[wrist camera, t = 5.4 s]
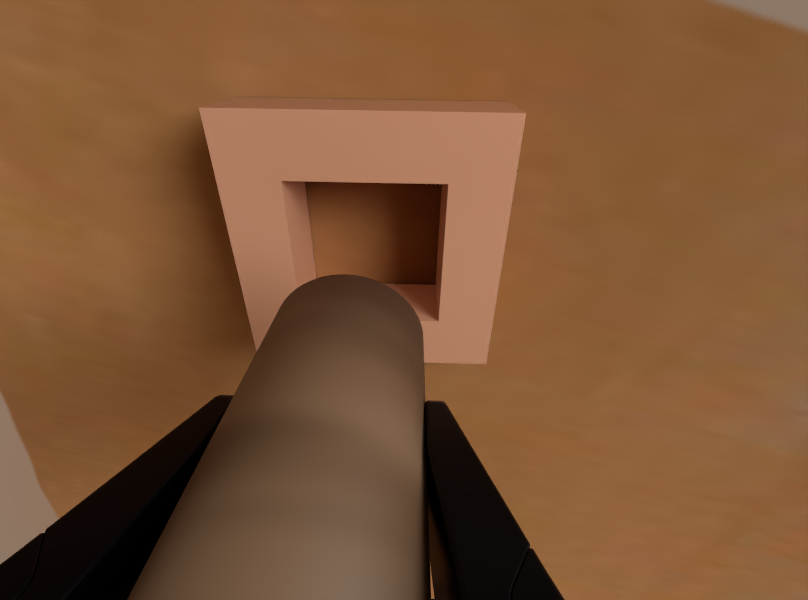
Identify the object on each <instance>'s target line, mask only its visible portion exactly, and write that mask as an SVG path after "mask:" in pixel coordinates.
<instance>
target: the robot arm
mask: <svg viewBox="0 0 808 600" xmlns="http://www.w3.org/2000/svg"><path fill="white" fill-rule="evenodd" d="M233 396H234V395H219V396H217V397H215V398H214V399H212V400H211V401H210V402H208V403H207V404H206V405H205V406H203V407H202V408H201V409H199V410H198V411H197V412H196V413H194V414H193V415H192V416H190V417H189V418H188V419H187V420H185V421H184V422H183V423H182V424H180V425H179V426H178V427H176V428H175V429H174V430H173V431H171V432H170V433H169V434H167V435H166V436H165V437H164V438H162V439H161V440H160V441H158V442H157V443H156V444H155V445H153V446H152V447H151V448H150V449H148V450H147V451H146V452H144V453H143V454H142V455H141V456H139V457H138V458H137V459H135V460H134V461H133V462H132V463H130V464H129V465H128V466H126V467H125V468H124V469H123V470H121V471H120V472H119V473H118V474H116V475H115V476H114V477H112V478H111V479H110V480H109V481H107V482H106V483H105V484H103V485H102V486H101V487H100V488H98V489H97V490H96V491H94V492H93V493H92V494H91V495H89V496H88V497H87V498H86V499H84V500H83V501H82V502H80V503H79V504H78V505H77V506H75V507H74V508H73V509H71V510H70V511H69V512H68V513H66V514H65V515H64V516H62V517H61V518H60V519H59V520H57V521H56V522H55V523H54V524H52V525H51V526H50V527H48V528H47V529H46V531H45V533H41V534H39V535H38V536H37V537H35V538H34V539H33V540H32V541H30V542H29V543H28V544H26V545H25V546H24V547H23V548H21V549H20V550H19V551H18V552H16V553H15V554H14V555H12V556H11V557H10V558H8V559H7V560H6V561H4V562H3V563H2V564H0V600H127V599H128V597H129V595H130V593H131V591H132V589H133V587H134V585H135V583H136V582H137V580H138V578H139V576H140V574H141V572H142V570H143V568H144V566H145V564H146V562H147V561H148V559H149V557H150V555H151V553H152V551H153V549H154V547H155V545H156V543H157V541H158V540H159V538H160V536H161V534H162V532H163V530H164V528H165V526H166V524H167V522H168V520H169V518H170V517H171V515H172V513H173V511H174V509H175V507H176V505H177V503H178V501H179V499H180V497H181V496H182V494H183V492H184V490H185V488H186V486H187V484H188V482H189V480H190V478H191V476H192V475H193V473H194V471H195V469H196V467H197V465H198V463H199V461H200V459H201V457H202V455H203V454H204V452H205V450H206V448H207V446H208V444H209V442H210V440H211V438H212V436H213V434H214V433H215V431H216V429H217V427H218V425H219V423H220V421H221V419H222V417H223V415H224V413H225V412H226V410H227V408H228V406H229V404H230V402H231V400H232V398H233ZM425 430H426V460H427V482H428V517H429V552H430V564H431V572H432V581H433V589H434V597H435V599H431V600H564V598H563V597H562V595H561V593H560V592H559V590H558V589H557V587H556V586H555V584H554V582H553V581H552V579H551V578H550V576H549V575H548V573H547V571H546V570H545V568H544V566H543V565H542V563H541V561H540V560H539V558H538V556H537V555H536V553H535V551H534V550H533V549H532V548H530V543H529V542H528V540H527V538H526V537H525V535H524V533H523V532H522V530H521V528H520V527H519V525H518V523H517V522H516V520H515V518H514V517H513V515H512V513H511V512H510V510H509V508H508V507H507V505H506V503H505V502H504V500H503V498H502V497H501V495H500V493H499V492H498V490H497V488H496V487H495V485H494V483H493V482H492V480H491V478H490V477H489V475H488V473H487V472H486V470H485V468H484V467H483V465H482V463H481V462H480V460H479V458H478V456H477V455H476V453H475V451H474V450H473V448H472V446H471V445H470V443H469V441H468V440H467V438H466V436H465V435H464V433H463V431H462V430H461V428H460V426H459V425H458V423H457V421H456V420H455V418H454V416H453V415H452V413H451V411H450V410H449V408H448V406H447V405H446V403H445V402H443V401H426V403H425ZM529 548H530V549H529Z"/></svg>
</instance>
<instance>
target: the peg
mask: <svg viewBox="0 0 808 600" xmlns="http://www.w3.org/2000/svg"><path fill="white" fill-rule="evenodd" d="M127 600H431V587H430V552H429V517H428V482H427V460H426V430H425V376H424V341H423V330H422V325H421V323H420V320H419V318H418V316H417V314H416V312H415V310H414V309H413V308H412V306H411V305H410V304H409V303H408V302H407V301H406V300H405V298H404V297H403V296H401V295H400V294H399V293H397V292H396V291H395V290H393V289H392V288H390V287H388V286H387V285H385V284H382V283H380V282H378V281H376V280H372V279H369V278H366V277H361V276H356V275H345V274H344V275H330V276H324V277H320V278H317V279H313V280H311V281H309V282H307V283H304V284H303V285H301V286H300V287H298V288H296V289H295V290H294V291H293V292H292V293H290V294H289V296H288V297H287V298H286V299H285V300H284V302H283V303H282V305H281V307H280V308H279V310H278V312H277V314H276V316H275V318H274V320H273V322H272V324H271V326H270V327H269V329H268V331H267V333H266V335H265V337H264V339H263V341H262V343H261V345H260V347H259V348H258V350H257V352H256V354H255V356H254V358H253V360H252V362H251V364H250V366H249V368H248V369H247V371H246V373H245V375H244V377H243V379H242V381H241V383H240V385H239V387H238V389H237V390H236V392H235V394H234V396H233V398H232V400H231V402H230V404H229V406H228V408H227V410H226V412H225V413H224V415H223V417H222V419H221V421H220V423H219V425H218V427H217V429H216V431H215V433H214V434H213V436H212V438H211V440H210V442H209V444H208V446H207V448H206V450H205V452H204V454H203V455H202V457H201V459H200V461H199V463H198V465H197V467H196V469H195V471H194V473H193V475H192V476H191V478H190V480H189V482H188V484H187V486H186V488H185V490H184V492H183V494H182V496H181V497H180V499H179V501H178V503H177V505H176V507H175V509H174V511H173V513H172V515H171V517H170V518H169V520H168V522H167V524H166V526H165V528H164V530H163V532H162V534H161V536H160V538H159V540H158V541H157V543H156V545H155V547H154V549H153V551H152V553H151V555H150V557H149V559H148V561H147V562H146V564H145V566H144V568H143V570H142V572H141V574H140V576H139V578H138V580H137V582H136V583H135V585H134V587H133V589H132V591H131V593H130V595H129V597H128V599H127Z"/></svg>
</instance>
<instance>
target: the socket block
mask: <svg viewBox="0 0 808 600" xmlns="http://www.w3.org/2000/svg"><path fill="white" fill-rule="evenodd" d="M199 111H200V115H201V119H202V123H203V128H204V132H205V136H206V140H207V144H208V149H209V153H210V157H211V161H212V166H213V170H214V174H215V178H216V183H217V187H218V191H219V195H220V199H221V204H222V208H223V212H224V216H225V221H226V225H227V229H228V233H229V238H230V242H231V246H232V250H233V255H234V259H235V263H236V267H237V271H238V276H239V280H240V284H241V288H242V293H243V297H244V301H245V305H246V310H247V314H248V318H249V322H250V326H251V331H252V335H253V339H254V343H255V348H256V352H257V350H258V348H259V347H260V345H261V343H262V341H263V339H264V337H265V335H266V333H267V331H268V329H269V327H270V326H271V324H272V322H273V320H274V318H275V316H276V314H277V312H278V310H279V308H280V307H281V305H282V303H283V302H284V300H285V299H286V298H287V297H288V296H289V294H290V293H292V292H293V291H294V290H295V289H296V288H298V287H300V286H301V285H303V284H304V283H307V282H309V281H311V280H313V279H316V270H315V262H314V254H313V245H312V237H311V228H310V220H309V211H308V203H307V195H306V186H305V181H306V182H358V183H410V184H442V188H441V204H440V220H439V236H438V252H437V268H436V284H435V285H426V284H385V285H387V286H388V287H390V288H392V289H393V290H395V291H396V292H397V293H399V294H400V295H401V296H403V297H404V298H405V300H406V301H407V302H408V303H409V304H410V305H411V306H412V308H413V309H414V310H415V312H416V314H417V316H418V318H419V320H420V323H421V325H422V330H423V341H424V362H426V363H466V364H486V362H487V356H488V349H489V343H490V337H491V331H492V324H493V318H494V312H495V305H496V299H497V293H498V287H499V280H500V274H501V268H502V262H503V255H504V249H505V243H506V237H507V230H508V224H509V218H510V212H511V205H512V199H513V193H514V186H515V180H516V174H517V168H518V161H519V155H520V149H521V143H522V136H523V130H524V124H525V118H526V113H525V112H524V111H522V110H520V109H519V108H517V107H515V106H513V105H512V104H510V103H508V102H496V101H435V100H374V99H313V98H252V97H235V98H231V99H228V100H224V101H221V102H217V103H213V104H210V105H206V106H203V107H199Z"/></svg>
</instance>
